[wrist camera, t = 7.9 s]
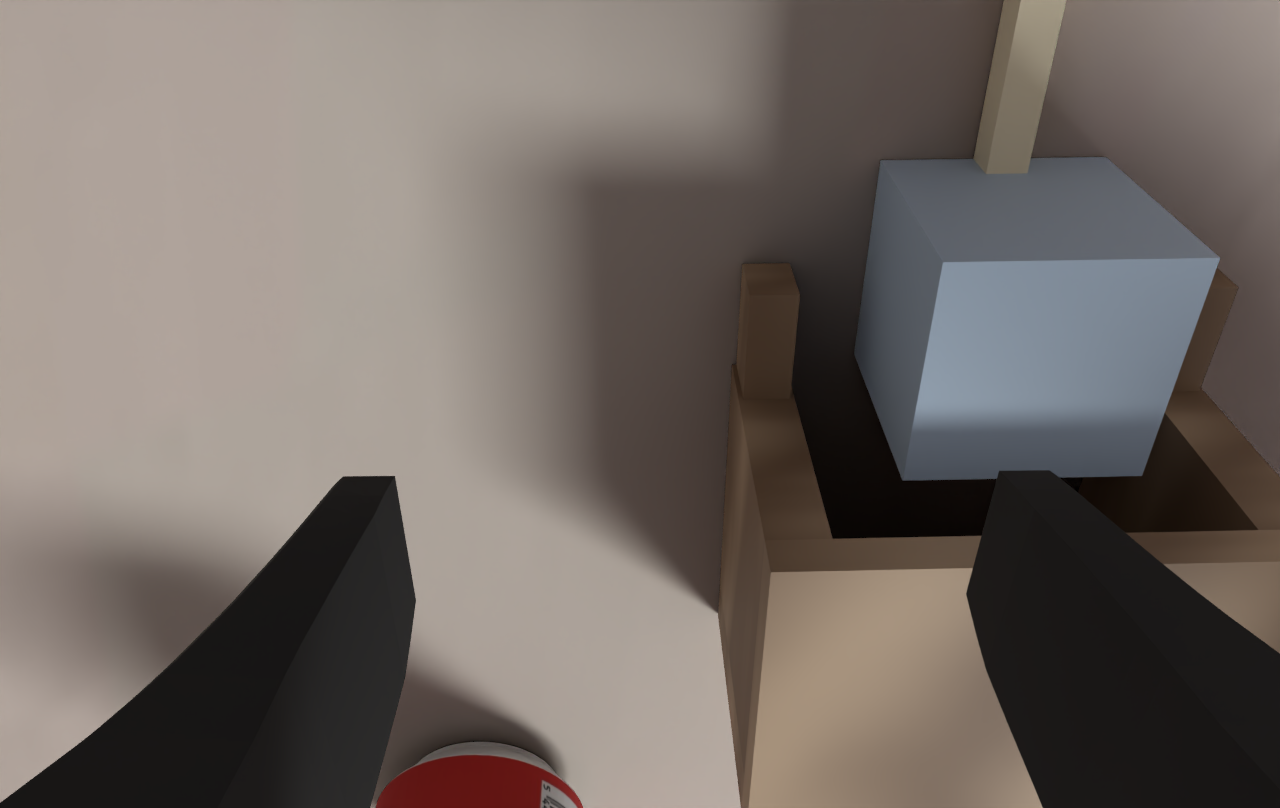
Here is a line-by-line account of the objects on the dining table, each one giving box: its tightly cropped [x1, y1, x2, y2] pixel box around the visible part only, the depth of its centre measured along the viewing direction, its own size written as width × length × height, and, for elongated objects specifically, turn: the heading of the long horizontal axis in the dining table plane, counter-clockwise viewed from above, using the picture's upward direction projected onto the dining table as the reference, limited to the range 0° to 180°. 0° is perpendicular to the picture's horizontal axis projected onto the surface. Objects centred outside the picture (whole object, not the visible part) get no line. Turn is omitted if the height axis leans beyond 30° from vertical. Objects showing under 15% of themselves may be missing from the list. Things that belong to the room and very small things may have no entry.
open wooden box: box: [718, 263, 1280, 808], centre depth 21 cm, size 10×10×7 cm
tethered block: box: [854, 0, 1220, 481], centre depth 16 cm, size 4×14×4 cm, turn 0°
